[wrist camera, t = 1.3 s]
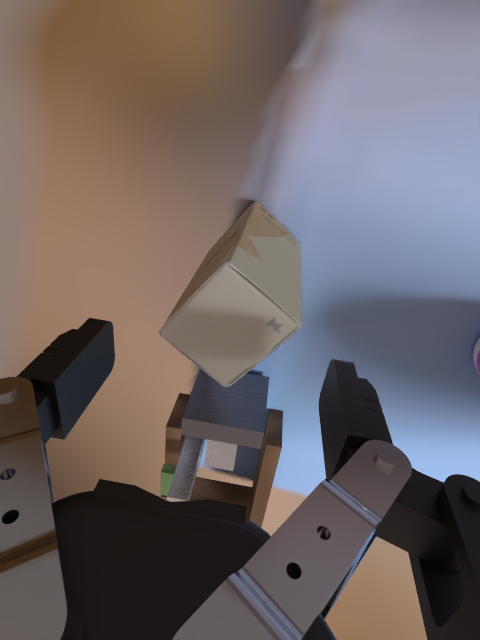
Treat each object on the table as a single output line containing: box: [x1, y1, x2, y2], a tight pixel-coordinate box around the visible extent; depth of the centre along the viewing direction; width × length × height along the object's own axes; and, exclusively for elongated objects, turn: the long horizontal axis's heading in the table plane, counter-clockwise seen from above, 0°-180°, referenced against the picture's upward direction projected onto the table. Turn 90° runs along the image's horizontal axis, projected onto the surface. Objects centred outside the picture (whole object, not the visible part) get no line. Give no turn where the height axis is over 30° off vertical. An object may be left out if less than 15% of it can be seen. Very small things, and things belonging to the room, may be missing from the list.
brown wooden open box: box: [161, 393, 283, 527], centre depth 33 cm, size 9×12×5 cm
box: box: [159, 201, 302, 387], centre depth 20 cm, size 5×4×11 cm
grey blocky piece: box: [167, 368, 269, 502], centre depth 28 cm, size 6×7×8 cm
